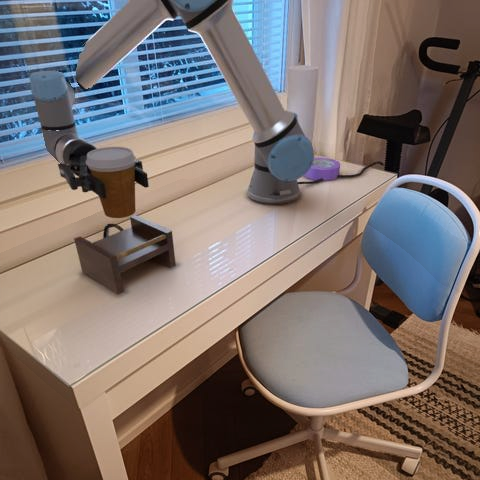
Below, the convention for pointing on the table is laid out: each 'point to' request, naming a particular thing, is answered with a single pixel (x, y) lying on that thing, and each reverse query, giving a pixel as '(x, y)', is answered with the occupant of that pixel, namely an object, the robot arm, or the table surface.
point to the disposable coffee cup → (115, 179)
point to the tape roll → (323, 169)
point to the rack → (125, 252)
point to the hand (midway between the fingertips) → (125, 185)
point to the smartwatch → (106, 229)
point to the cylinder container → (303, 96)
